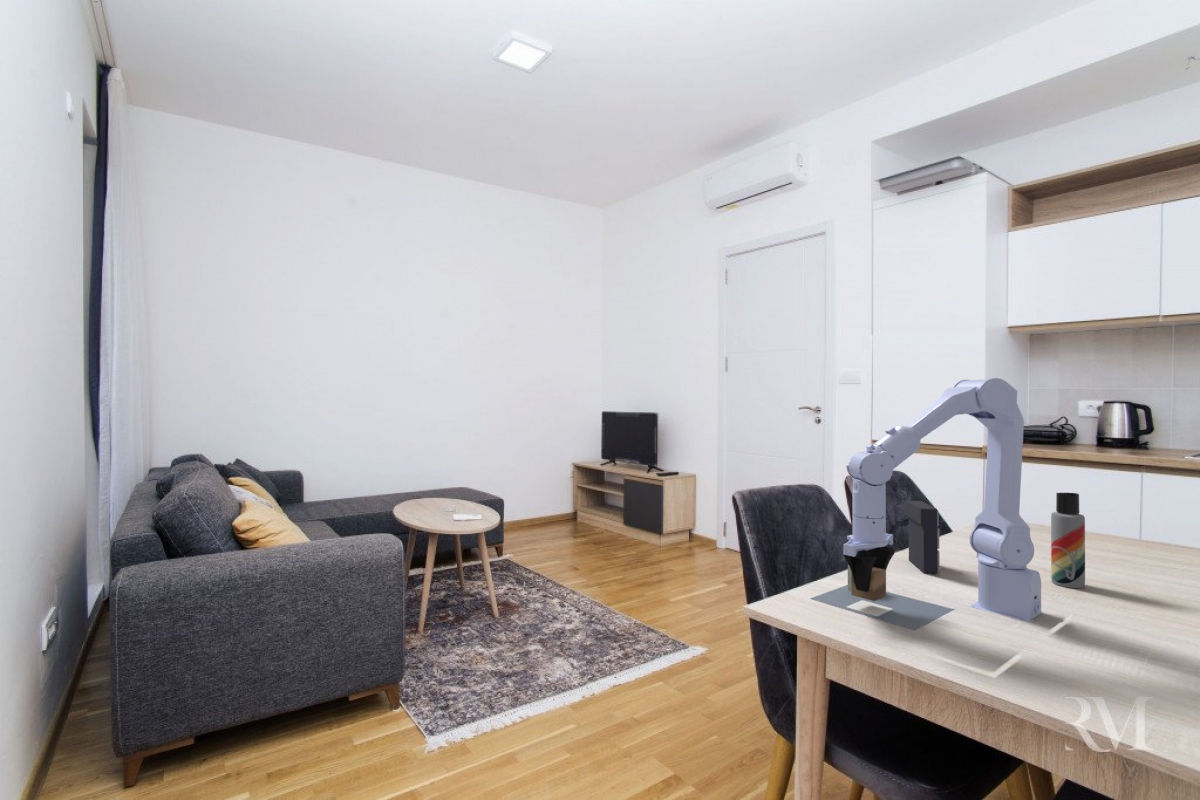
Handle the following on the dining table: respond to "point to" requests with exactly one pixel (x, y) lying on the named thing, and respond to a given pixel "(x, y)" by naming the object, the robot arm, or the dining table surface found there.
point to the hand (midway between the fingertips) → (869, 587)
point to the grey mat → (886, 607)
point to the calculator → (923, 536)
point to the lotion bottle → (1068, 542)
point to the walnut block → (872, 585)
